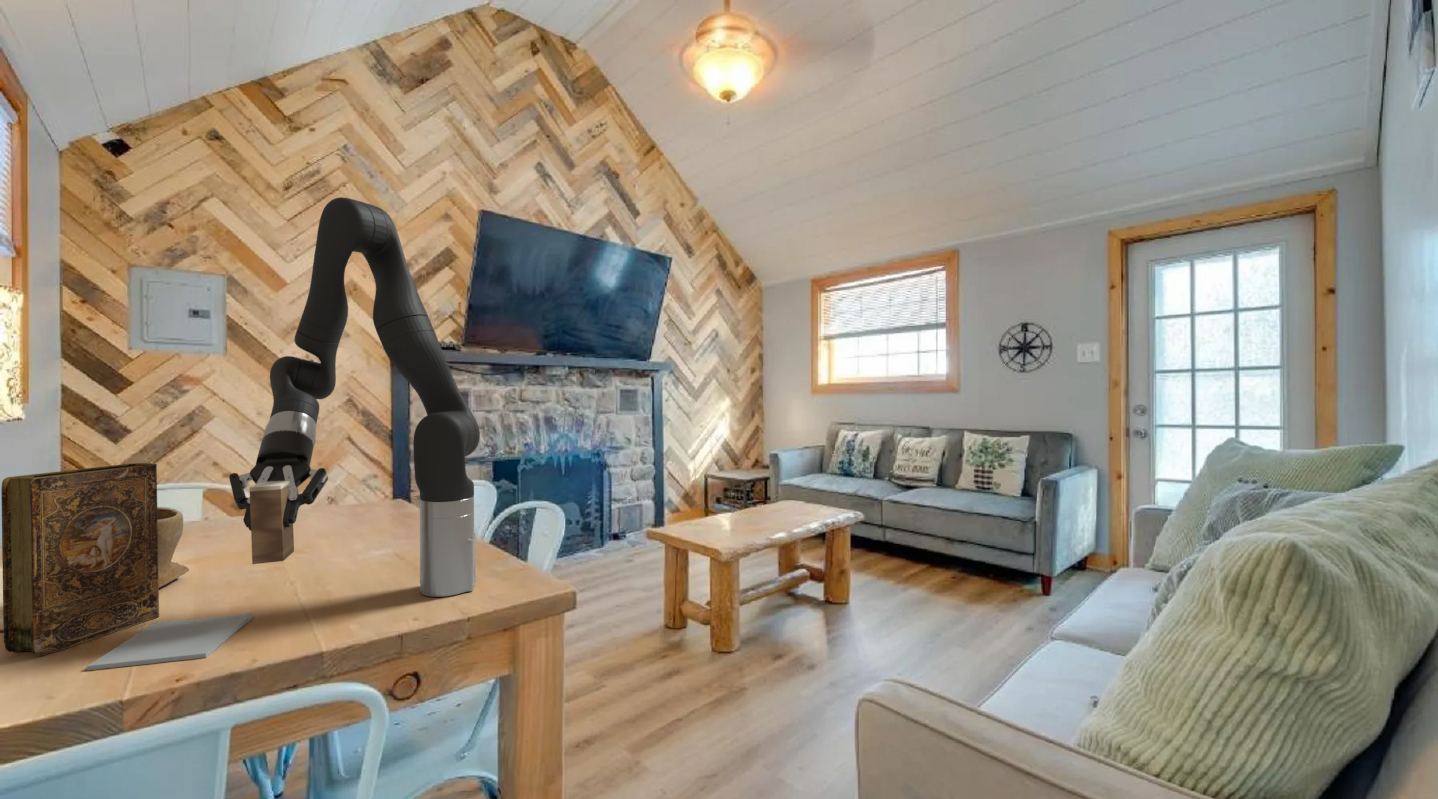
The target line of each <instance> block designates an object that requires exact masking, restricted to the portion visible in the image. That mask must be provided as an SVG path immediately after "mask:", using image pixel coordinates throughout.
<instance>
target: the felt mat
mask: <svg viewBox="0 0 1438 799" xmlns="http://www.w3.org/2000/svg"><path fill="white" fill-rule="evenodd" d="M253 618H254V613H244V614H234V615H224V616H223V615H221V616H213V617H212V616H211V617H210V616H209V617H201V618H199V617H198V618H192V619H191V618H190V619H181V620H180V619H179V620H178V619H177V620H168V621H158V622H153V623H152V624H150V625H149V626H147V627H146V628H144V629H142V630H141V631H139V632H138V633H136V634H134V635H133V636H132V637H130V638H128V639H127V640H126V641H124V642H122V643H121V644H119V645H118V646H116V647H114V648H113V649H111V650H110V651H108V652H107V653H105V654H103V655H101V656H100V657H99V658H97V659H96V660H94V661H93V662H91V663H89V664H88V665H86V671H95V670H104V669H113V668H114V669H115V668H124V667H133V666H141V665H150V664H159V663H171V662H178V661H186V660H187V661H188V660H195V659H196V660H197V659H204V658H205V659H206V658H207V657H208V656H210V655H211V654H212V653H213V652H214V651H215V650H216V649H218V648H219V647H220V646H221V645H222V644H223V643H226V641H227V640H228V639H229V638H231V637H232V636H233V635H234V634H236V633H237V632H238V631H240V629H242V627H244V626H245V625H246V624H248V622H250V621H251V620H252V619H253Z"/></svg>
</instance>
